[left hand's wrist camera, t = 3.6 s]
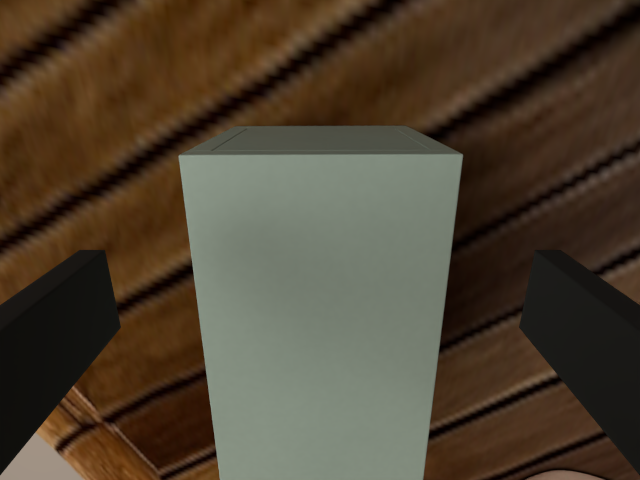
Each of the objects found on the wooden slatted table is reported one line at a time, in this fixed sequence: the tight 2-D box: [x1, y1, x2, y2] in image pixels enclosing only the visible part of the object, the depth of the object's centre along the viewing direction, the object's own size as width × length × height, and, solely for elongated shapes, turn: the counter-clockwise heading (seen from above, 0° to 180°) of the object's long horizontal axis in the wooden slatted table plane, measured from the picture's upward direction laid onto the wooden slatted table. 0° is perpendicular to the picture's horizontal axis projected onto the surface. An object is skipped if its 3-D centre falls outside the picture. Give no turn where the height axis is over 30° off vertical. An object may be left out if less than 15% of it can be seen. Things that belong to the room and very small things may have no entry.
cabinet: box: [179, 126, 463, 480], centre depth 26 cm, size 20×12×12 cm, turn 0°
